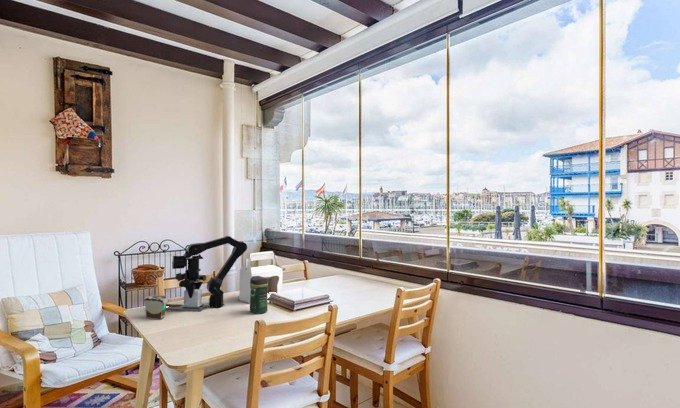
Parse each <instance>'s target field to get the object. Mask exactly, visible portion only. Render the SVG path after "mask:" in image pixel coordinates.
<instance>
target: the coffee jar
mask: <svg viewBox="0 0 680 408" xmlns="http://www.w3.org/2000/svg"><path fill="white" fill-rule="evenodd" d="M267 286H268V279H267V278H266V277H261V276H253V277H252V278H251V279H250V287H251V293H250V303H249V311H250V312H251V313H253V314H256V315H257V314H260V315H261V314H264V313H266V312H268V301H267Z"/></svg>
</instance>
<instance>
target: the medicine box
mask: <svg viewBox="0 0 680 408" xmlns="http://www.w3.org/2000/svg"><path fill="white" fill-rule="evenodd" d="M202 291H203V290H202V289H195V290H194V293H193V296H192V298H189V295H188V292H187V289H186V290H184V291H183V305H184V307H187V308H194V307H199V306H201V305H203V303H202V300H203V299H202V297H203V296H202V294H203V292H202Z"/></svg>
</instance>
